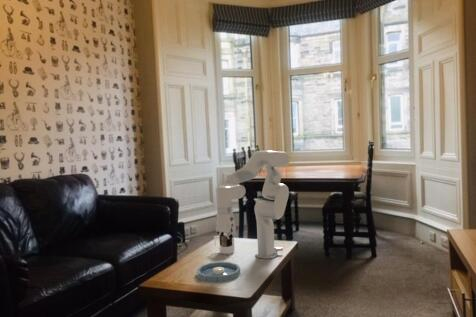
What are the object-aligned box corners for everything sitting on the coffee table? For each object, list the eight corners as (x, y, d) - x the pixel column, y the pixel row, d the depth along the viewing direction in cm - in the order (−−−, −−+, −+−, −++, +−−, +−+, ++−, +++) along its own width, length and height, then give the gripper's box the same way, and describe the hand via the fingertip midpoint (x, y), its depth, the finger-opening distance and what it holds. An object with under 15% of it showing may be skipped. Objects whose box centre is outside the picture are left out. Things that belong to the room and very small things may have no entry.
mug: (236, 250, 243) (235, 232, 242) (232, 255, 235) (231, 236, 234) (217, 249, 246) (216, 231, 246) (212, 254, 238) (211, 235, 237)
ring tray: (233, 264, 218) (233, 259, 218) (244, 278, 197) (244, 273, 197) (194, 270, 212) (194, 264, 212) (201, 284, 192) (201, 279, 192)
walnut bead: (229, 244, 211) (228, 234, 210) (231, 246, 206) (230, 236, 206) (220, 245, 210) (220, 235, 209) (222, 247, 205) (222, 237, 205)
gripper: (241, 210, 204) (243, 246, 205) (218, 207, 215) (220, 241, 217) (231, 213, 198) (232, 250, 200) (208, 209, 210) (209, 244, 211)
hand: (226, 244), depth 208 cm, fingers closed on walnut bead, 4 cm apart
